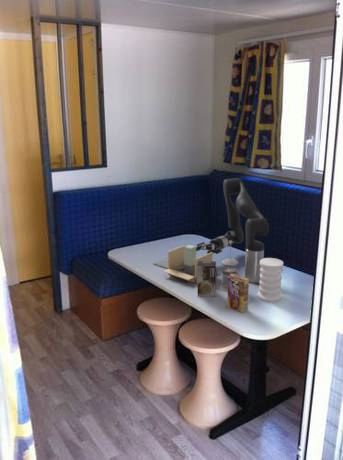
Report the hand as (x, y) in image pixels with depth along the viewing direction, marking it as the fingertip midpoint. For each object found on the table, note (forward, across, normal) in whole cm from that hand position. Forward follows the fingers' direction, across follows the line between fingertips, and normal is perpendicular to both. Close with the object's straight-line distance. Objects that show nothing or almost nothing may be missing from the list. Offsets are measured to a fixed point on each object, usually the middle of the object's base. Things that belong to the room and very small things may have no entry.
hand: (201, 251), depth 247 cm
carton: (+10, 0, +10) cm, 15 cm away
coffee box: (+24, +22, +10) cm, 35 cm away
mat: (+6, -20, +11) cm, 23 cm away
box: (+10, 0, +10) cm, 15 cm away
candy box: (+27, +42, +10) cm, 51 cm away
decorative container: (+7, +47, +10) cm, 49 cm away
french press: (+11, +27, +10) cm, 31 cm away
